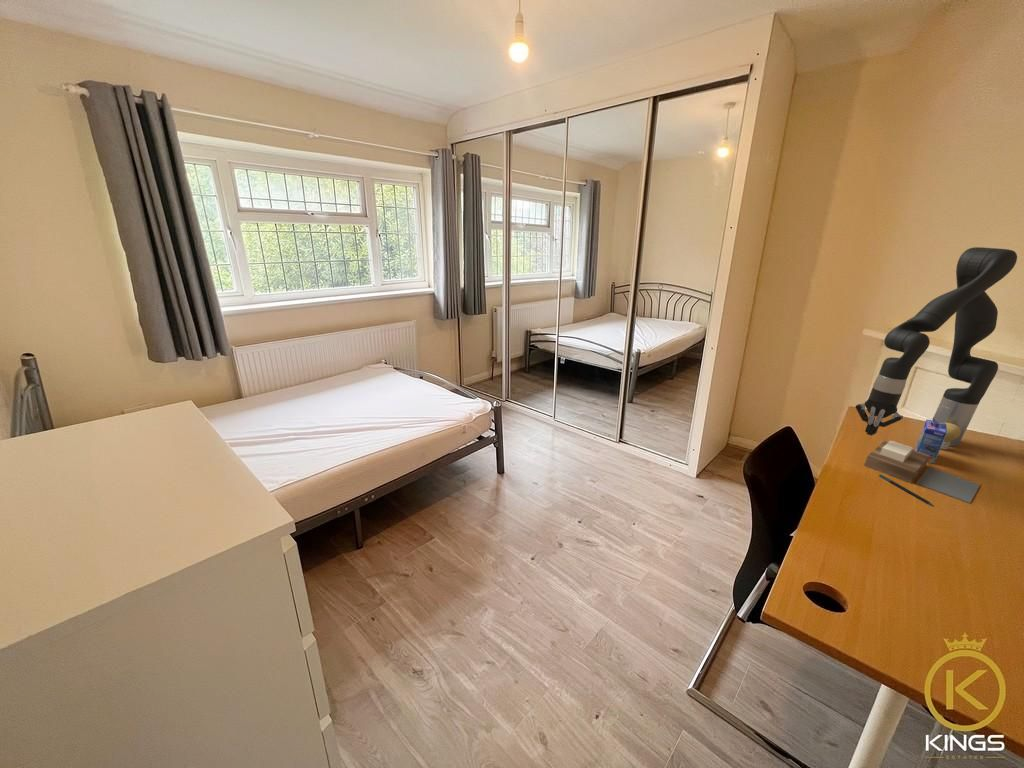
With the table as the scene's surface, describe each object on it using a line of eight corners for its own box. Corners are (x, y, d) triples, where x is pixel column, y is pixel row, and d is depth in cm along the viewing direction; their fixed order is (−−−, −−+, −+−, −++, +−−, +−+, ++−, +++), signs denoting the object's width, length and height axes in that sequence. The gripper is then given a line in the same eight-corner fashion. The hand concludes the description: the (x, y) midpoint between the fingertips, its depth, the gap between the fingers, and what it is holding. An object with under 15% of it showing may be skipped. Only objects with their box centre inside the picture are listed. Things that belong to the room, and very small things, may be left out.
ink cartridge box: (913, 448, 149) (928, 412, 143) (934, 453, 145) (950, 417, 140) (912, 458, 142) (928, 421, 137) (934, 464, 138) (951, 427, 133)
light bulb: (924, 445, 150) (935, 421, 147) (932, 442, 153) (943, 418, 149) (947, 453, 145) (959, 429, 141) (955, 450, 148) (967, 425, 144)
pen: (931, 508, 117) (933, 504, 117) (877, 477, 131) (879, 473, 131) (934, 507, 117) (936, 504, 117) (880, 476, 132) (881, 473, 131)
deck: (880, 450, 147) (884, 440, 145) (925, 465, 138) (929, 455, 136) (863, 465, 137) (867, 455, 136) (910, 482, 128) (915, 472, 126)
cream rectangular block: (887, 446, 141) (890, 440, 140) (910, 454, 137) (913, 447, 136) (879, 454, 136) (882, 447, 136) (902, 462, 132) (905, 455, 131)
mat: (928, 467, 136) (928, 466, 136) (979, 485, 127) (980, 484, 127) (915, 483, 128) (915, 482, 128) (969, 503, 119) (970, 502, 119)
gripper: (917, 393, 132) (897, 439, 138) (866, 380, 142) (850, 424, 148) (910, 397, 128) (890, 445, 134) (859, 384, 138) (843, 429, 144)
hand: (869, 434), depth 141 cm, fingers closed
